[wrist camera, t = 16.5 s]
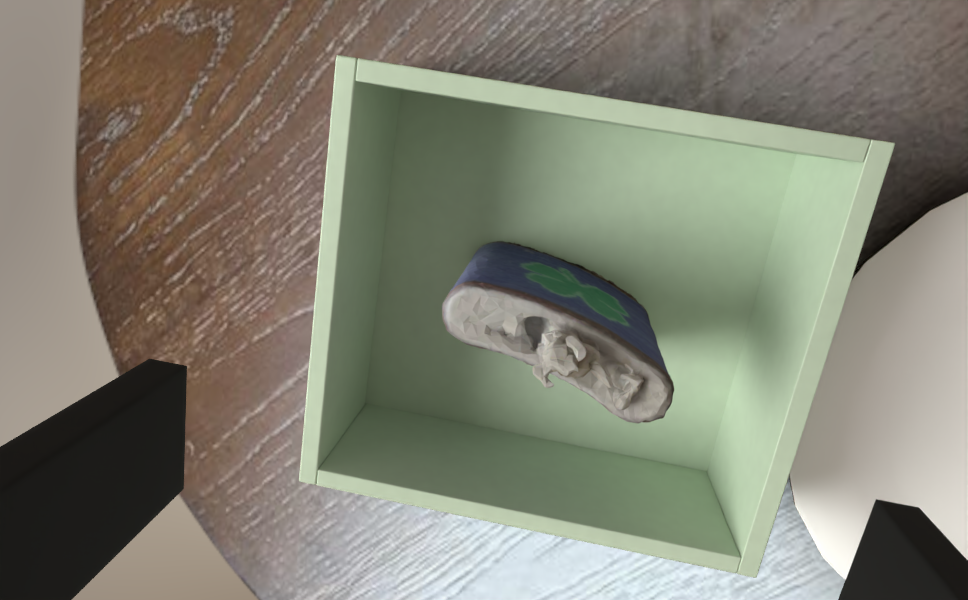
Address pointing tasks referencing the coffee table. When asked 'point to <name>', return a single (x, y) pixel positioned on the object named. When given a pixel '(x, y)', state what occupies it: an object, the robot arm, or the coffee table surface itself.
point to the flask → (562, 327)
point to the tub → (600, 248)
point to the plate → (893, 393)
